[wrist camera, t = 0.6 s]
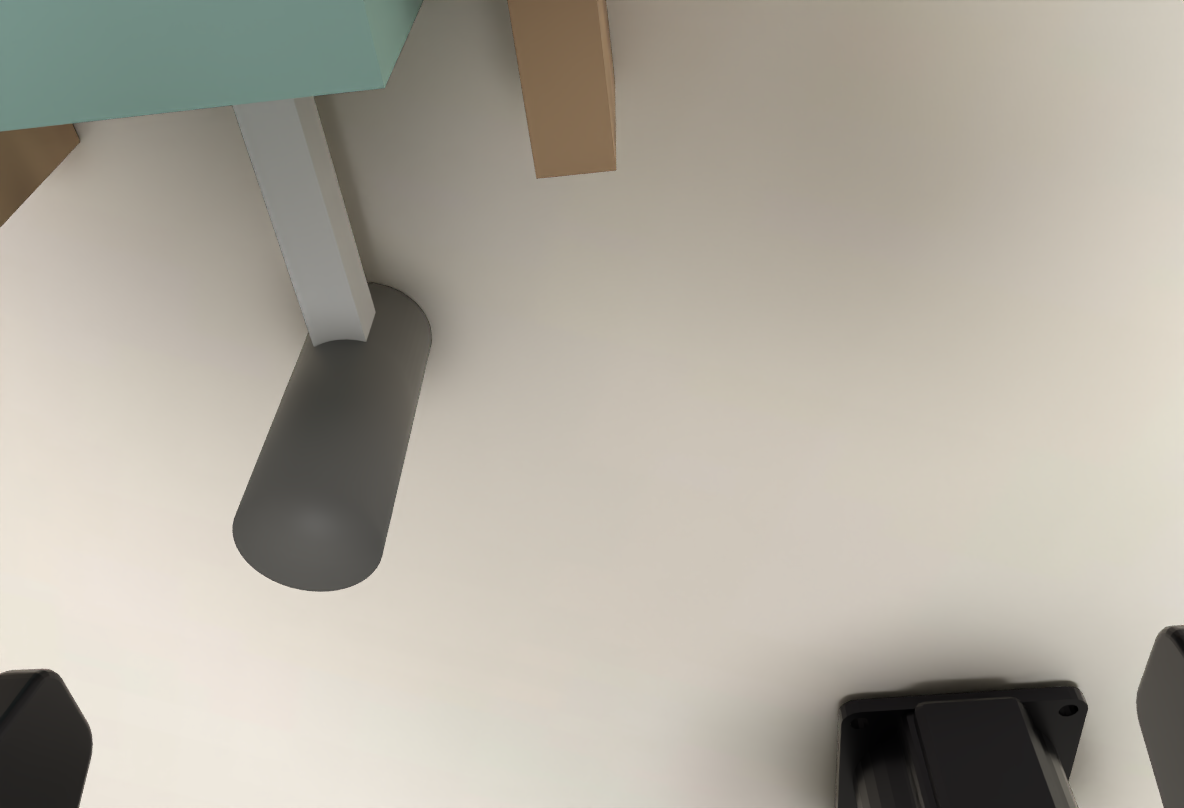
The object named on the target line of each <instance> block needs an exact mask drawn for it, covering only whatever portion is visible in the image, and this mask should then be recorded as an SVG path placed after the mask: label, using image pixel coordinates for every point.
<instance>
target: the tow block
mask: <svg viewBox="0 0 1184 808" xmlns="http://www.w3.org/2000/svg"><path fill="white" fill-rule="evenodd" d="M422 3H423V0H0V132H1V131H10V130H18V129H27V128H36V127H45V126H54V125H63V124H72V123H80V122H89V121H98V120H107V119H116V118H125V117H133V116H142V115H151V114H160V113H169V112H178V111H186V110H195V109H204V108H213V107H222V106H231V105H232V106H233V109H234V112H235V115H236V118H237V121H238V124H239V127H240V130H241V133H242V136H243V139H244V142H245V145H246V148H247V151H248V154H249V157H250V160H251V163H252V166H253V169H254V172H255V175H256V177H257V180H258V183H259V186H260V189H261V192H262V195H263V198H264V201H265V204H266V207H267V210H268V213H269V216H270V219H271V222H272V225H273V228H274V231H275V234H276V237H277V240H278V243H279V246H280V249H281V252H282V255H283V258H284V260H285V263H286V266H287V269H288V272H289V275H290V278H291V281H292V284H293V287H294V290H295V293H296V296H297V299H298V302H299V305H300V308H301V311H302V314H303V317H304V320H305V323H306V326H307V329H308V335H307V337H306V340H305V342H304V345H303V347H302V350H301V352H300V355H299V357H298V360H297V362H296V365H295V367H294V370H293V372H292V375H291V377H290V380H289V382H288V385H287V387H286V390H285V392H284V395H283V397H282V400H281V402H280V405H279V407H278V410H277V412H276V415H275V417H274V420H273V422H272V425H271V427H270V430H269V432H268V435H267V437H266V440H265V442H264V445H263V447H262V450H261V452H260V455H259V457H258V460H257V462H256V465H255V467H254V470H253V472H252V475H251V477H250V480H249V482H248V485H247V487H246V490H245V492H244V495H243V497H242V500H241V502H240V505H239V508H238V510H237V513H236V515H235V518H234V521H233V538H234V541H235V544H236V547H237V548H238V550H239V552H240V554H241V555H242V556H243V558H244V559H245V560H246V561H247V562H248V563H249V564H250V565H251V566H252V567H253V568H254V569H255V570H257V571H258V572H259V573H261V574H262V575H264V576H265V577H267V578H269V579H271V580H273V581H275V582H277V583H280V584H282V585H285V586H288V587H291V588H296V589H300V590H306V591H318V592H321V591H335V590H340V589H345V588H348V587H351V586H354V585H356V584H358V583H360V582H362V581H363V580H365V579H366V578H367V577H369V576H370V575H371V574H372V573H373V572H374V571H375V569H376V568H377V566H378V565H379V563H380V560H381V557H382V554H383V550H384V545H385V541H386V537H387V532H388V528H389V524H390V520H391V515H392V511H393V507H394V502H395V498H396V494H397V489H398V485H399V481H400V476H401V472H402V468H403V464H404V459H405V455H406V451H407V446H408V442H409V438H410V433H411V429H412V425H413V420H414V416H415V412H416V407H417V403H418V399H419V395H420V390H421V386H422V382H423V377H424V373H425V369H426V364H427V360H428V356H429V351H430V347H431V341H432V338H431V329H430V325H429V322H428V320H427V318H426V316H425V314H424V313H423V311H422V310H421V309H420V307H419V306H418V305H417V304H416V303H415V302H414V301H413V300H412V299H410V298H409V297H408V296H406V295H405V294H403V293H401V292H399V291H398V290H395V289H393V288H391V287H387V286H384V285H380V284H374V283H367V281H366V277H365V274H364V270H363V267H362V263H361V260H360V256H359V253H358V249H357V246H356V242H355V239H354V235H353V232H352V228H351V225H350V221H349V218H348V214H347V211H346V207H345V204H344V201H343V197H342V194H341V190H340V187H339V183H338V180H337V176H336V173H335V169H334V166H333V162H332V159H331V155H330V152H329V148H328V145H327V141H326V138H325V134H324V131H323V127H322V124H321V120H320V117H319V113H318V110H317V107H316V103H315V100H314V96H319V95H328V94H337V93H346V92H354V91H363V90H372V89H381V88H385V86H386V84H387V82H388V79H389V77H390V75H391V73H392V70H393V68H394V66H395V64H396V61H397V59H398V57H399V55H400V52H401V50H402V48H403V45H404V43H405V41H406V39H407V36H408V34H409V32H410V30H411V27H412V25H413V23H414V21H415V18H416V16H417V14H418V12H419V9H420V7H421V5H422Z"/></svg>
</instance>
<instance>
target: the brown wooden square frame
mask: <svg viewBox="0 0 1184 808" xmlns="http://www.w3.org/2000/svg"><path fill="white" fill-rule="evenodd" d="M507 1H508V7H509V13H510V20H511V26H512V32H513V38H514V44H515V50H516V56H517V62H518V68H519V75H520V81H521V87H522V93H523V99H524V105H525V111H526V117H527V123H528V130H529V136H530V142H531V148H532V154H533V160H534V166H535V172H536V178H537V179H538V178H548V177H557V176H567V175H576V174H586V173H595V172H605V171H614V170H616V120H615V78H614V69H613V60H612V51H611V41H610V32H609V23H608V14H607V5H606V0H507ZM79 143H80V140H79V138H78V136H77V133H76V131H75V129H74V127H73V124H63V125H54V126H45V127H36V128H27V129H18V130H10V131H1V132H0V227H1V226H2V225H3V224H4V223H5V222H6V221H7V220H8V219H9V217H10V216H11V215H12V214H13V213H14V212H15V211H16V210H17V209H18V208H19V207H20V206H21V205H22V204H23V203H24V201H25V200H26V199H27V198H28V197H29V196H30V195H31V194H32V193H33V192H34V191H35V190H36V189H37V188H38V186H39V185H40V184H41V183H42V182H43V181H44V180H45V179H46V178H47V177H48V176H49V175H50V174H51V173H52V172H53V170H54V169H55V168H56V167H57V166H58V165H59V164H60V163H61V162H62V161H63V160H64V159H65V158H66V157H67V155H68V154H69V153H70V152H71V151H72V150H73V149H74V148H75V147H76V146H77V145H78V144H79Z"/></svg>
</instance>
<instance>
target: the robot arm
mask: <svg viewBox="0 0 1184 808" xmlns="http://www.w3.org/2000/svg"><path fill="white" fill-rule="evenodd" d="M1136 704H1137V714H1138V720H1139V724H1140V727H1141V731H1142V734H1143V737H1144V741H1145V744H1146V748H1147V751H1148V755H1149V758H1150V761H1151V765H1152V768H1153V772H1154V775H1155V779H1156V782H1157V786H1158V789H1159V792H1160V796H1161V799H1162V803H1163V806H1164V808H1184V625H1178V626H1168V627H1165V628H1164V629H1163V630H1162V631H1160V632H1159V633H1158V635H1157V637H1156V639H1155V642H1154V645H1153V648H1152V651H1151V654H1150V656H1149V659H1148V662H1147V665H1146V668H1145V671H1144V673H1143V676H1142V679H1141V682H1140V685H1139V687H1138V692H1137V699H1136ZM1087 711H1088V705H1087V703H1086V700H1085V698H1084V696H1083V693H1082V692H1081V691H1080V690H1079V689H1077V688H1075V687H1052V688H1036V689H1020V690H1004V691H988V692H972V693H956V694H940V695H925V696H909V697H893V698H877V699H861V700H853V701H849V702H847V703H845V704H844V705H843V706H841V707H840V710H839V715H838V741H837V767H836V793H835V808H1078V806H1077V803H1076V801H1075V798H1074V796H1073V793H1072V790H1071V788H1070V785H1069V783H1068V781H1069V777H1070V773H1071V770H1072V766H1073V762H1074V758H1075V755H1076V751H1077V747H1078V744H1079V740H1080V736H1081V733H1082V729H1083V725H1084V722H1085V718H1086V714H1087ZM92 746H93V742H92V734H91V730H90V726H89V724H88V722H87V720H86V719H85V717H84V715H83V714H82V712H81V710H80V709H79V707H78V705H77V704H76V702H75V700H74V698H73V697H72V695H71V693H70V692H69V690H68V688H67V687H66V685H65V683H64V681H63V680H62V678H61V677H60V676H59V675H58V674H57V673H56V672H54V671H52V670H49V669H28V670H11V671H6V672H3V673H1V674H0V808H79V805H80V801H81V797H82V793H83V789H84V785H85V781H86V777H87V772H88V768H89V764H90V760H91V755H92Z"/></svg>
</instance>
